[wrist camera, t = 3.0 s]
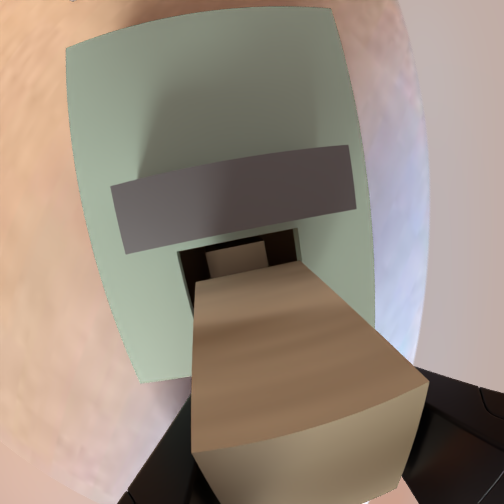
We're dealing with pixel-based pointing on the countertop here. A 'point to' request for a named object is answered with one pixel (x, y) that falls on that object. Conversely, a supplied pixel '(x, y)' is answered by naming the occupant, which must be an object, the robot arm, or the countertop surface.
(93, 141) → the lid
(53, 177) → the countertop surface
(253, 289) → the tan rectangular block
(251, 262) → the brown wooden open box
